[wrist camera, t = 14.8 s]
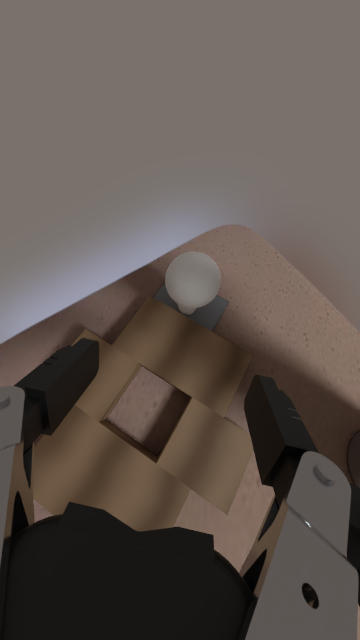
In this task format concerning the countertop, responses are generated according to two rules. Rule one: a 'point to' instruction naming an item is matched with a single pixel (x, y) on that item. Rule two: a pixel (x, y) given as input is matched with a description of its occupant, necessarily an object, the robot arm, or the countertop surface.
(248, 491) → the countertop surface
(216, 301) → the slate mat
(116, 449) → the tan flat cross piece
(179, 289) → the lightbulb
